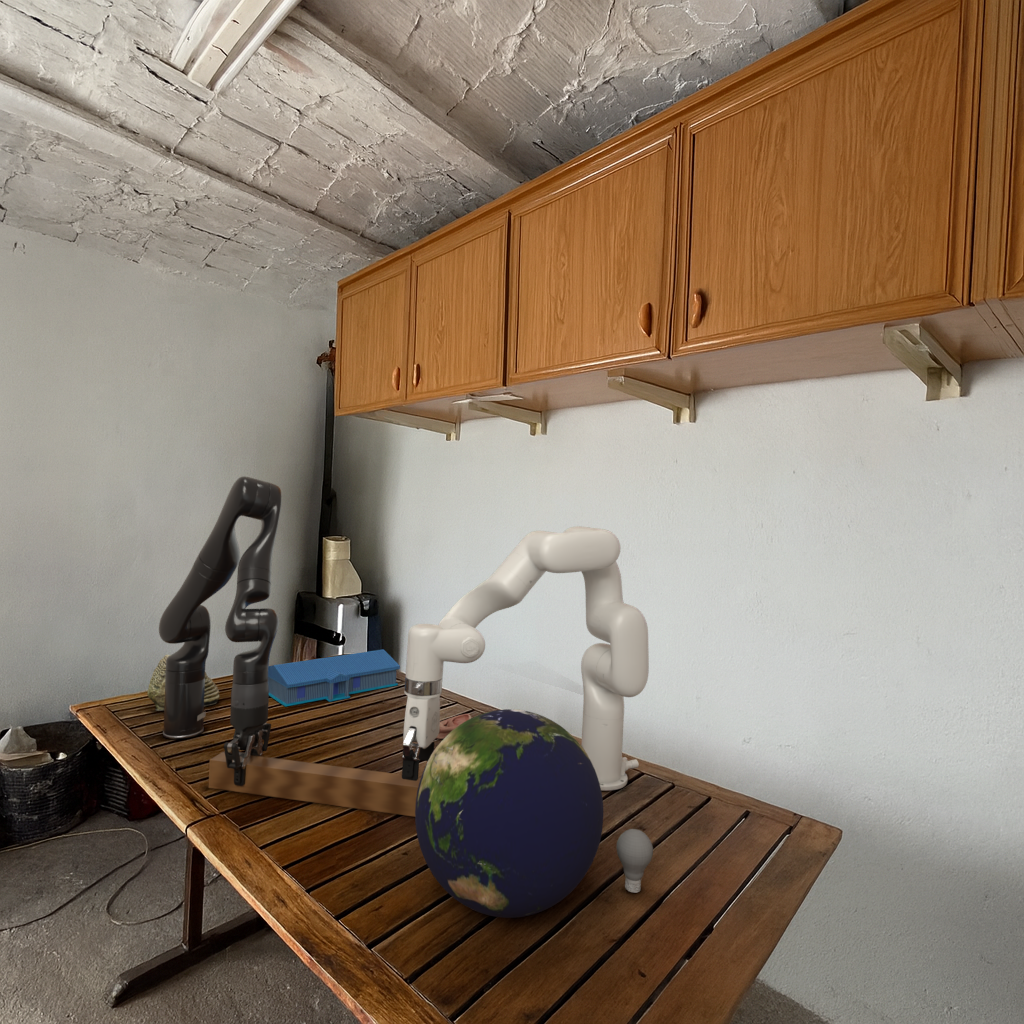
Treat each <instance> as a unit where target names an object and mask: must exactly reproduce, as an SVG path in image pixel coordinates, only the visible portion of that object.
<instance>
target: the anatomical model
mask: <svg viewBox="0 0 1024 1024" xmlns="http://www.w3.org/2000/svg"><path fill="white" fill-rule="evenodd" d="M471 718H472V716H471V714H470V713H463V714H459V715H454V716H452V717H449V718H446V719H444V720H440V729H439V734H438V736H437V737H436V738H435V739H438V740H439V739H441V740H443V739H444V738H445V737H446V736H447V735H448V734H449V733H450V732H451V731H453V730H454V729H455V728H456V727H458V726H459V725H461V724H462V723H464V722H465V721H467V720H469V719H471Z"/></svg>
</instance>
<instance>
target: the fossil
mask: <svg viewBox="0 0 1024 1024" xmlns="http://www.w3.org/2000/svg"><path fill="white" fill-rule="evenodd" d="M170 655H171V654H165V655H164V656H163V657H162V658H161V659H160V660H159V662H158V663H157V666H156V667H155V669H154V670H153V672H152V675H151V677H150V680H149V684H148V688H147V697H148V699H149V700H150V701H152V703H153V704H154V706H155V711H158V712H159V711H162V712H163V711H164V705H165V674H166V660H167V658H168V657H169V656H170ZM220 698H221V696H220V690H219V688H218V686H217V685H216V683H215V682H214V681H213V679H212V678H211V677H209V675H208V674H207V672H206V671H205V693H204V707H207V706H213V705H215V704H217V703H218V701H219V699H220Z"/></svg>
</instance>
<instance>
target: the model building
mask: <svg viewBox="0 0 1024 1024" xmlns="http://www.w3.org/2000/svg"><path fill="white" fill-rule="evenodd" d="M400 669H401V665H400V664H399V663H398V662H397V661H396V660H395V659H394V658H393V657H392V656H391V654H389V653H388V652H387V651H386V650H385V649H376V650H368V651H363V652H356V653H349V654H342V655H341V654H340V655H335V656H329V657H328V656H327V657H321V658H315V659H314V658H313V659H307V660H300V661H293V662H287V663H278V664H272V665H269V667H268V686H269V697H270V698H271V699H273V700H274V701H276V702H277V703H279V704H280V705H282V706H283V707H290V706H297V705H302V704H307V703H312V702H317V701H323V700H325V701H327V702H329V703H330V702H335V701H341V700H346V699H347V700H348V699H350V698H351V695H353V694H359V693H364V692H365V693H366V692H369V691H373V690H381V689H385V688H390V687H391V688H392V687H395V686H399V683H398V682H397V670H400Z"/></svg>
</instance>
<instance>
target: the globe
mask: <svg viewBox="0 0 1024 1024" xmlns="http://www.w3.org/2000/svg"><path fill="white" fill-rule="evenodd" d="M420 777H421V779H420V783H419V786H418V791H417V797H416V806H415V817H414V818H415V819H414V820H415V831H416V837H417V840H418V845H419V848H420V851H421V854H422V856H423V859H424V861H425V863H426V865H427V867H428V869H429V871H430V872H431V874H432V875H433V877H434V879H435V880H436V882H437V883H438V884H439V885H440V886H441V887H442V888H443V890H444V891H446V893H447V894H448V895H450V896H451V897H452V898H453V899H454V900H456V901H457V902H459V903H460V904H461V905H462V906H464V907H466V908H469V909H471V910H472V911H475V912H477V913H479V914H482V915H487V916H490V917H495V918H501V919H502V918H504V919H516V918H524V917H529V916H533V915H536V914H538V913H539V914H540V913H542V912H543V911H545V910H548V909H550V908H552V907H554V906H555V905H557V904H558V903H561V902H562V901H563V900H564V899H565V898H567V896H568V895H570V894H571V893H572V892H573V891H574V890H575V889H576V888H577V887H578V885H579V884H580V883H581V882H582V881H583V879H584V878H585V877H586V875H587V873H588V871H589V869H590V868H591V866H592V864H593V862H594V860H595V858H596V855H597V853H598V851H599V847H600V843H601V839H602V834H603V827H604V799H603V793H602V790H601V788H600V783H599V780H598V777H597V774H596V771H595V769H594V767H593V764H592V762H591V760H590V758H589V757H588V755H587V753H586V752H585V750H584V748H583V747H582V746H581V743H580V742H579V741H578V739H576V738H575V737H574V735H572V733H570V732H569V731H568V730H567V729H565V728H564V727H563V726H561V725H560V724H559V723H557V722H555V721H553V720H552V719H550V718H548V717H547V716H544V715H542V714H539V713H536V712H531V711H528V710H524V709H521V708H520V709H519V708H511V709H507V708H506V709H497V710H496V709H495V710H491V711H487V712H483V713H480V714H477V715H475V716H474V717H471V719H469V720H467V721H465V722H464V723H462V724H461V725H459V726H458V727H456V728H455V729H454V730H453V731H451V732H450V733H449V734H448V735H447V736H446V737H445V738H444V739H441V741H440V742H439V743H438V744H437V746H436V747H435V748H434V751H433V753H432V754H431V756H430V758H429V760H428V761H426V763H425V767H424V769H423V772H422V773H421V776H420Z"/></svg>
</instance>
